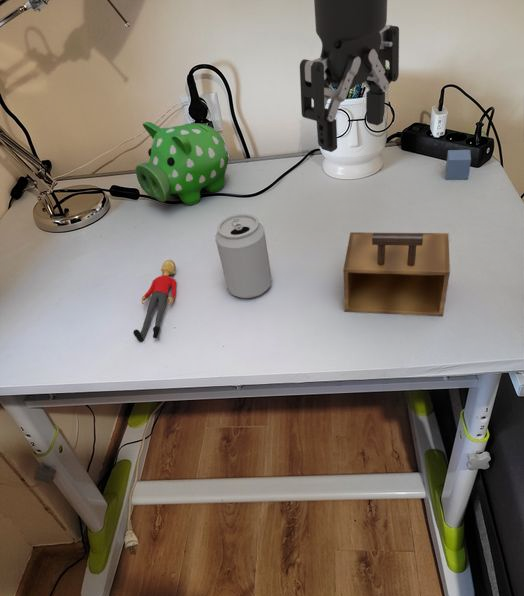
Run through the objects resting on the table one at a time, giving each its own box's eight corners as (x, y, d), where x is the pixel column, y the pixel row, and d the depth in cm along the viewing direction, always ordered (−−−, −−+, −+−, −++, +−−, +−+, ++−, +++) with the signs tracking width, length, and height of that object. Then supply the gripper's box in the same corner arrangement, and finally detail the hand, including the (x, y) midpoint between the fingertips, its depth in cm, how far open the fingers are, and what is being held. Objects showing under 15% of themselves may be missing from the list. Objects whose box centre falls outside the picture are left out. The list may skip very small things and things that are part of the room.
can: (233, 306, 80) (218, 243, 72) (223, 279, 86) (208, 217, 77) (278, 293, 81) (268, 229, 73) (265, 267, 86) (255, 205, 78)
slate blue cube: (466, 169, 100) (470, 149, 97) (467, 179, 97) (471, 159, 94) (445, 169, 100) (447, 150, 98) (445, 179, 98) (448, 160, 95)
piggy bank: (140, 201, 109) (116, 132, 98) (206, 167, 116) (191, 98, 105) (178, 223, 100) (156, 150, 90) (246, 184, 107) (234, 112, 97)
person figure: (127, 321, 75) (156, 249, 87) (128, 339, 78) (155, 267, 90) (162, 328, 75) (185, 255, 87) (161, 345, 78) (184, 272, 90)
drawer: (442, 277, 78) (453, 203, 69) (442, 316, 73) (454, 241, 63) (350, 274, 82) (349, 203, 73) (344, 311, 76) (342, 239, 67)
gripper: (329, 0, 47) (335, 167, 58) (424, -39, 52) (413, 120, 64) (274, -4, 51) (290, 151, 63) (367, -40, 57) (366, 109, 68)
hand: (352, 136), depth 63 cm, fingers open, 8 cm apart
